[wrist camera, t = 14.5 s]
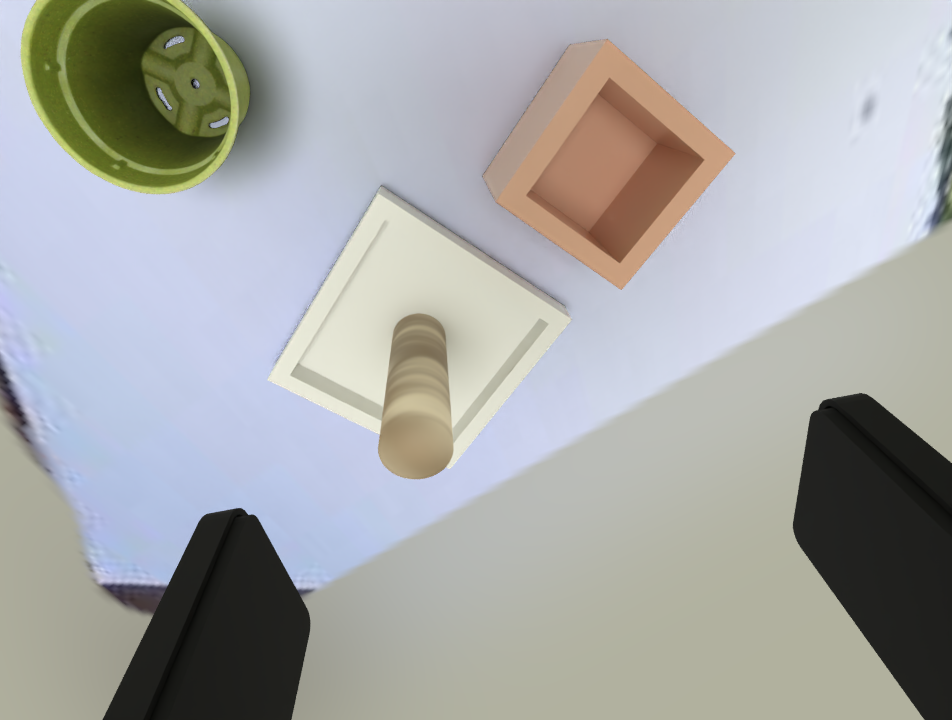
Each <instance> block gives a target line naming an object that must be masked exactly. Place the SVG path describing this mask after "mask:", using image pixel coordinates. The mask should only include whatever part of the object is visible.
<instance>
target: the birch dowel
mask: <svg viewBox="0 0 952 720" xmlns="http://www.w3.org/2000/svg"><path fill="white" fill-rule="evenodd" d="M378 453H379V457H380V459H381V461H382V463H383V465H384V466H385V467H386V468H387V469H388V470H389V471H391V472H392V473H394V474H395V475H398V476H400V477H403V478H407V479H424V478H428V477H431V476H434V475H436V474H438V473H439V472H441V471H442V470H443V469H444V468H445V467H446V466H447V465H448V464H449V462H450V460H451V458H452V455H453V433H452V419H451V405H450V391H449V377H448V363H447V349H446V335H445V331H444V328H443V326H442V325H441V323H440V322H439V321H438V320H437V319H435V318H434V317H432V316H430V315H427V314H421V313H417V314H411V315H408V316H406V317H404V318H403V319H401V320H400V321H399V322H398V323H397V325H396V326H395V328H394V331H393V337H392V345H391V352H390V360H389V368H388V376H387V383H386V391H385V399H384V406H383V414H382V422H381V430H380V437H379V445H378Z"/></svg>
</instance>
